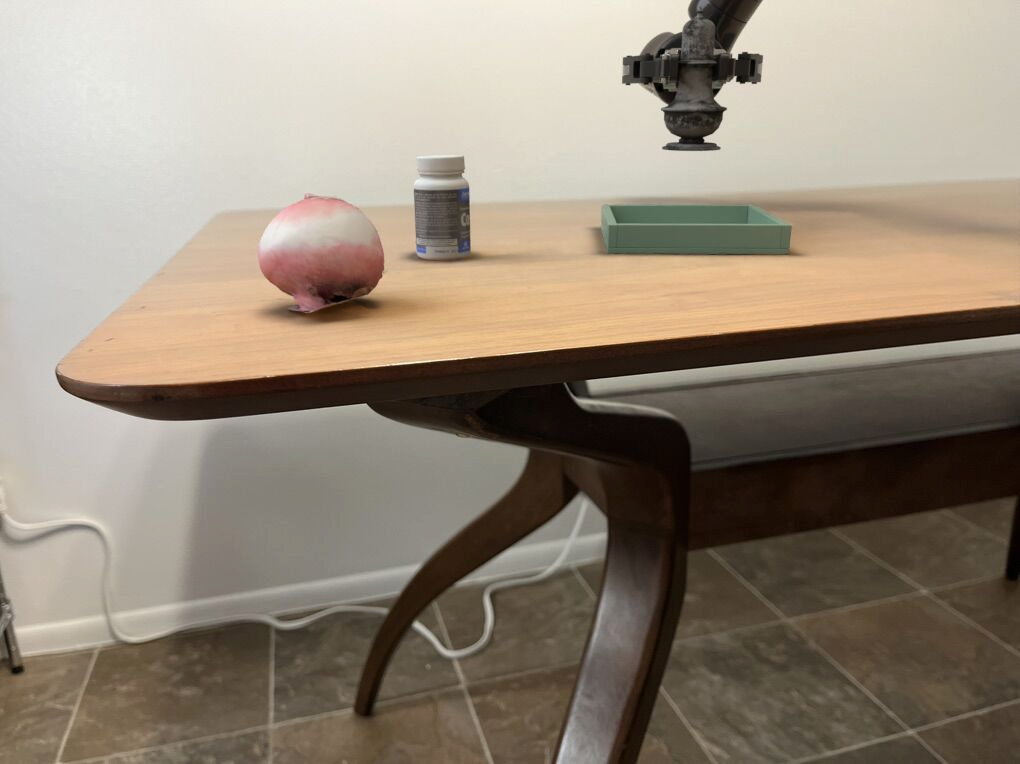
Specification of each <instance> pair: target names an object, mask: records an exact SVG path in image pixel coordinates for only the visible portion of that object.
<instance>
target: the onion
mask: <svg viewBox="0 0 1020 764" xmlns="http://www.w3.org/2000/svg"><path fill="white" fill-rule="evenodd" d="M257 258H258V265H259V269H260V271H261V273H262V275H263V276H264V278H265V279H266V280H267V281H268V282H269V283H271V284H272V285H273V286H274V287H276V288H277V289H278V290H280V292H282V293H285V294H286V295H288V296H291V297H292V298H293V299H294V301H295V303H296V304H295V305H294V304H293V305H291V306H288V307H286V308H285V309H286V310H288V311H289V310H290V311H294V312H302V313H304V314H311V313H313V312H317V311H320V310H324V309H326V308H329V307H333V306H336V305H339V304H343V303H345V302H348V301H352V300H355V299H358V298H361V297H364V296H368V295H369V294H370V293H371V292H373V291H374V289H376V288H377V286H378V284H379V282H380V281H381V279H382V278H383V277H384V274H383V272H384V270H385V252H384V248H383V244H382V241H381V237H380V234H379V231H378V230H377V228H376V227H375V225H374V223H373V221H372V220H371V219H370V218H369V217H368V216H367V215H366V213H365V212H363V211H362V210H360V208H358V207H357V206H356V205H355V206H354V205H353V204H352V203H349V202H347V201H346V200H344V199H342V198H340V197H338V196H335V195H325V196H321V195H316V194H313V193H311V192H310V193H309V192H307V193H304V197H303V199H301V200H299V201H297V202H295V203H292V204H290V205H287V206H286V207H284V208H283V209H282V210H280V211H279V212H278V213H277V214H276V215H275V216H274V217H273V218H272V220H271V221H270V222H269V223H268V225H267V226H266V228H265V229H264V231H263V234H262V235H261V238H260V240H259V243H258V250H257Z"/></svg>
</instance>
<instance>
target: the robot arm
mask: <svg viewBox="0 0 1020 764" xmlns="http://www.w3.org/2000/svg"><path fill="white" fill-rule="evenodd" d="M763 1H764V0H690V2H689V4H688V6H687V16H688V18H689V20H692V19H693V18H694V17H697V12H696V11H698V8H699V7H700V6H701V8H702V9H703V11H704V12H703V13H702V15H703V16H704V17H705V18H706V19H708V20H710V21H712V22H713V23H714V25H715V41H714V55H713V60H714V61H716V62H717V64H716V65H715V66H714V68H713V82H712V89H713V95H714V98H716V96H717V95H719V93H720V92H721V90H722V88H723V86H724V85H726V84H727V83H731V82H732V80H733V79H734V78H735V83H739V84H740V85H744V84H745V85H746V83H751V85H757V84H758V83H761V82H762V73H763V64H764V63H763V62H764V55H763V54H760V53H749V52H748V51H742V52H741V53H737V57H733V53H732V50H733V48H734V46H735V44H736V43H737V41H738V39H739V37H740V36H741V34H742V32H743V31H744V29H745V27H746V26H747V25H748V23H749V22H750V20H751V19H752V17H753V15H754V14H755V13H756V11H757V10H758V8H759V7H760V5H761V4H762V2H763ZM681 47H682V31H680V32H677V33H674V32H671V31H664V32H660V33H658V34H657V35H655V36H654V37H653V38H651V39H650V40H649V41H648V42H647V43H646V44H645V46H644V47H643V49H642V50H641V52H640V53H639V55H626V56H624V57H623V56H622V71H621V75H622V76H621V84H622V85H623V84H625V86H631V85H632V84H638V85H639V86H640V87H642V88H643V89H644V90H646V91H647V92H648V93H650V94H653V96H655V97H656V98H658V99H659V100H660V101H661V102H662V103H664V104H665V105H666V106H668V105H669V104H670V103H672V102H673V101H674V100H675V97H676V94H677V90H678V83H679V67H678V62H679V61H681Z"/></svg>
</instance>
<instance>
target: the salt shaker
mask: <svg viewBox="0 0 1020 764" xmlns="http://www.w3.org/2000/svg"><path fill="white" fill-rule="evenodd" d="M696 12H697V17H694V18H693V19H692V20H690V19H689V20H688V21H686V22H685V23H684V24H683V26H682V30H681V32H682V47H681V61H679V62H678V67H679V83H678V90H677V94H676V97H675V100H674V101H673V102H672V103H670V104H669V105H666V106H664V107H661V108H660V111H661V112H663V121H664V124H665V128H666V129H667V130H668V132H669V133H670V134H672V135H674V136H676V137H678V138H679V139H678V141H675V142H674V141H673V142H667V143H666V144H665V145H663V146H662V147H661V150H663V151H676V152H680V151H681V152H707V151H708V152H711V151H713V152H714V151H720V150H721V148H722V147H721V146H718V144H717V143H715V142H708V141H707V142H706V141H705V138H706V137H709V136H711V135H713V134H714V133H715V132H716V131H717V130H718V129H719V128H720V126H721V124H722V121H723V119H724V112H726V111H727V110H728V107H726V106H722V105H721V104H720V103H718V102H717V100H716V99H715V97H714V95H713V89H712V82H713V68H714V66H715V65H716V64H717V62H716V61H714V60H713V55H714V41H715V25H714V23H713V22H712V21H710V20H708V19H706V18H705V17H704V16H703V15H702V13H703V12H704V11H703V9H702V8H701V6H700V7H699V8H698V11H696Z"/></svg>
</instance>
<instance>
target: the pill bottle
mask: <svg viewBox="0 0 1020 764" xmlns="http://www.w3.org/2000/svg"><path fill="white" fill-rule="evenodd" d="M465 170H466V165H465V155H462V154H434V155H430V154H429V155H420V156H416V171H417V172H416V173H417V175H419V178H418V179H416V180H415V181H414V183H413V200H414V201H413V205H414V227H415V229H414V231H415V245H416V246H415V247H416V249H415V251H416V256H417V257H419V258H420V259H422V260H429V261H451V260H461V259H464V258H467V257H469V256H470V255H471V250H472V248H471V247H472V246H471V245H472V244H471V241H472V240H471V212H470V211H471V205H470V202H471V200H470V199H471V198H470V197H471V196H470V195H471V194H470V183H469V181H468V180H467V179H466V178H465V177H463V174H464V173H465Z"/></svg>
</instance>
